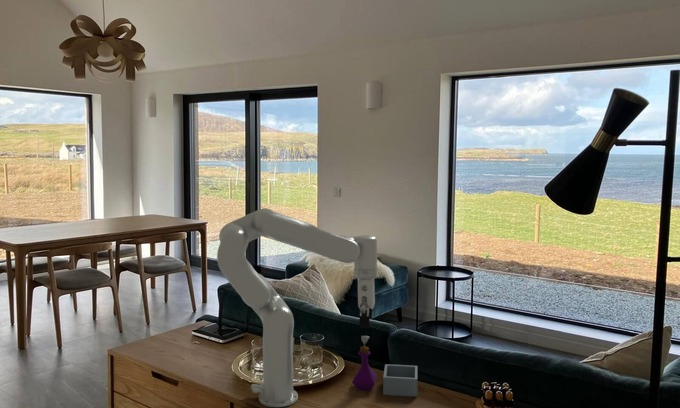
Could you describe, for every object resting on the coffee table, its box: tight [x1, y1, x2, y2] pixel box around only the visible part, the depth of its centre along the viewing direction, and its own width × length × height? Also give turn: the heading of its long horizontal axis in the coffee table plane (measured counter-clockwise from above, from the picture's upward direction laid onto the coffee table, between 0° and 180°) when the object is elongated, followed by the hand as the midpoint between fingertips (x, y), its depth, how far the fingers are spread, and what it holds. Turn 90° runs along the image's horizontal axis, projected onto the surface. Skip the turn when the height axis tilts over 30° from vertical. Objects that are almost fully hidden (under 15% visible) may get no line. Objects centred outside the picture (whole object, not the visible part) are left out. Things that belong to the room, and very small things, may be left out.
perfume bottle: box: [352, 335, 378, 392], centre depth 189 cm, size 8×8×18 cm
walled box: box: [382, 363, 418, 398], centre depth 190 cm, size 11×11×6 cm
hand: (365, 323), depth 188 cm, fingers open, 9 cm apart
